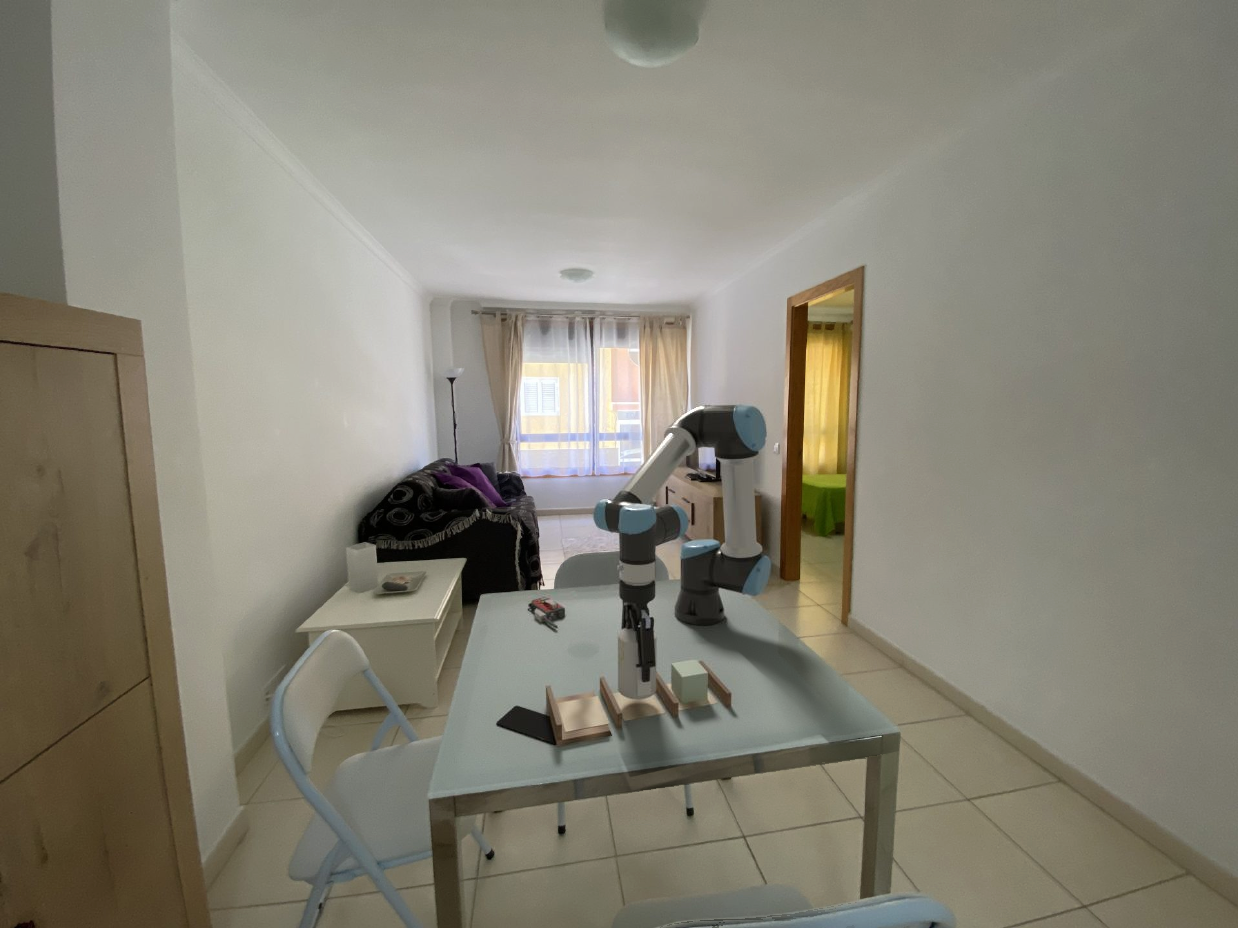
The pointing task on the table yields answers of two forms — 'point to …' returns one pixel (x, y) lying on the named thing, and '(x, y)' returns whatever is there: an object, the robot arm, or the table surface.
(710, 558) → the robot arm
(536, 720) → the smartphone
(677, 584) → the table surface
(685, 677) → the sage block
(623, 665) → the white cylinder
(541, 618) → the walkie-talkie
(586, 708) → the frame
